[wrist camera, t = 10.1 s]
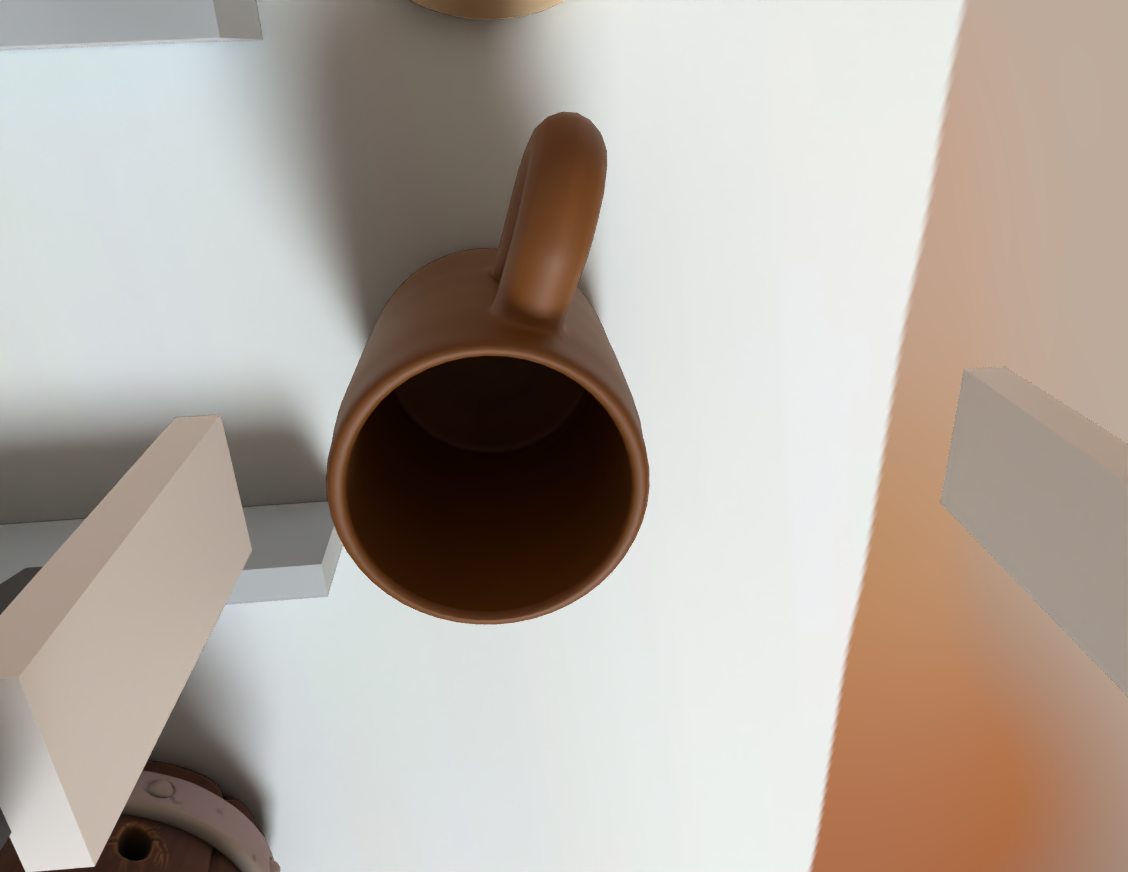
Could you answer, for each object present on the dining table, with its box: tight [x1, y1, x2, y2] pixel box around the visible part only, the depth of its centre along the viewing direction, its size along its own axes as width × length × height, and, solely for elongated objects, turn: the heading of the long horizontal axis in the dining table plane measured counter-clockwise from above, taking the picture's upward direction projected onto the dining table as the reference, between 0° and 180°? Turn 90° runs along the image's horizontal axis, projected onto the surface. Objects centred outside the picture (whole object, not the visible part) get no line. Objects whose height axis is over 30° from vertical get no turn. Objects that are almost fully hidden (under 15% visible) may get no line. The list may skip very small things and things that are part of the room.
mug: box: [326, 112, 649, 624], centre depth 22 cm, size 12×8×9 cm, turn 165°
